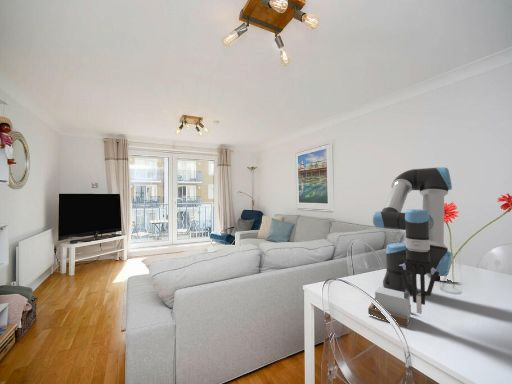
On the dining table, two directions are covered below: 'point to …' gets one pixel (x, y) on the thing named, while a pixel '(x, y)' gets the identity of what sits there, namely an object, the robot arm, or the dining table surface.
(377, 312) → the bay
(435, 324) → the dining table surface
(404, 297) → the grey box with ridge
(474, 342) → the dining table surface
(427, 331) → the dining table surface
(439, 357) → the dining table surface
